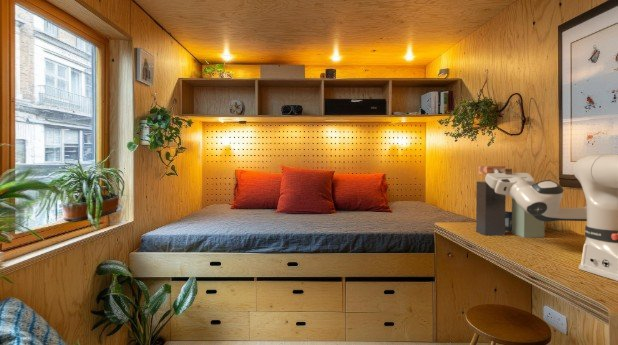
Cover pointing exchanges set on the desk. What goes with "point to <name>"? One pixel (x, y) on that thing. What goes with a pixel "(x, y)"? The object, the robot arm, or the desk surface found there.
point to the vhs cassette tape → (508, 221)
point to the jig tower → (489, 210)
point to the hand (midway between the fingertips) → (500, 170)
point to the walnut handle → (493, 169)
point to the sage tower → (525, 223)
